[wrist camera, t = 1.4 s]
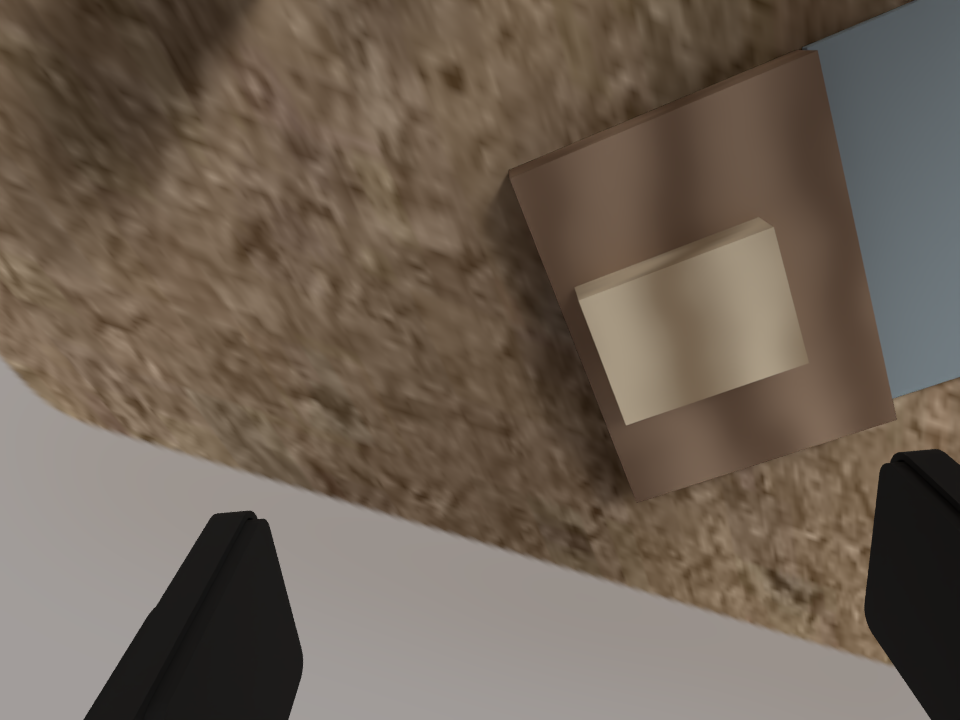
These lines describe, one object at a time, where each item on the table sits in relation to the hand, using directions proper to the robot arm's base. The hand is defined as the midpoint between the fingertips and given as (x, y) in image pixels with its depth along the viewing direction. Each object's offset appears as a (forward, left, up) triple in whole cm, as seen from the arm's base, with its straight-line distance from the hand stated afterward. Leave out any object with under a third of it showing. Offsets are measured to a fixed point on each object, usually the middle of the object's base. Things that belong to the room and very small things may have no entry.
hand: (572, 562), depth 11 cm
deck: (-7, +8, -27) cm, 29 cm away
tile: (-6, +8, -25) cm, 26 cm away
